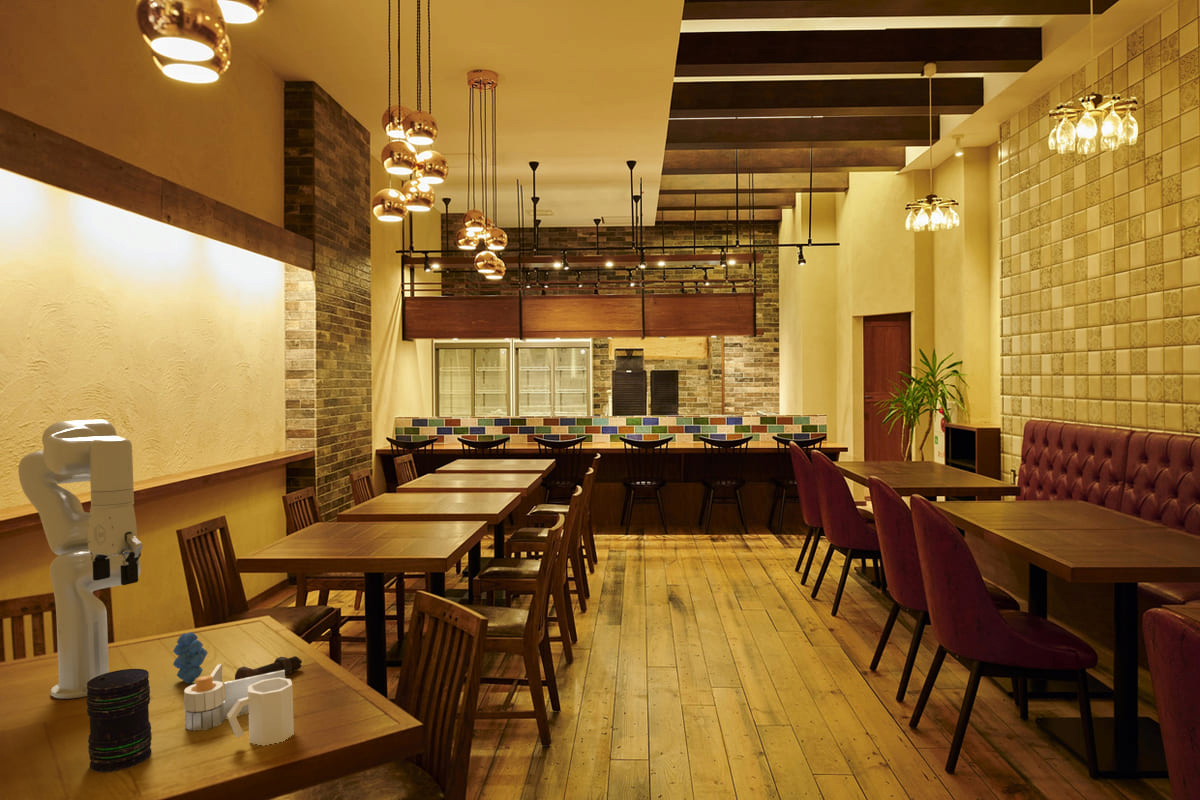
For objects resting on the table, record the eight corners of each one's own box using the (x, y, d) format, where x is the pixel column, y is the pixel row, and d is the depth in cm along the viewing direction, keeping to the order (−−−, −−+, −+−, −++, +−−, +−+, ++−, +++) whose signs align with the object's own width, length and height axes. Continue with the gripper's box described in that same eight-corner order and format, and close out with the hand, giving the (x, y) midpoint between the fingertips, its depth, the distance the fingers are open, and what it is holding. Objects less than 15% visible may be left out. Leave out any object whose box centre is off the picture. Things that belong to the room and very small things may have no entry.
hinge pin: (196, 727, 156) (195, 682, 156) (197, 721, 159) (196, 677, 159) (213, 724, 157) (212, 679, 157) (213, 719, 160) (212, 674, 160)
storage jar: (162, 746, 148) (160, 667, 148) (133, 771, 139) (130, 687, 138) (109, 748, 148) (106, 669, 148) (76, 773, 138) (73, 689, 138)
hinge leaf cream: (219, 726, 156) (218, 691, 155) (181, 731, 154) (180, 695, 154) (237, 694, 172) (236, 662, 172) (203, 697, 171) (202, 665, 171)
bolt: (300, 678, 187) (243, 698, 174) (288, 664, 190) (231, 683, 177) (308, 659, 186) (251, 677, 173) (296, 645, 188) (239, 663, 175)
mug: (283, 722, 157) (281, 674, 157) (302, 735, 151) (301, 684, 151) (220, 743, 149) (219, 692, 149) (239, 757, 143) (237, 704, 143)
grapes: (220, 682, 180) (219, 631, 180) (190, 692, 175) (188, 638, 175) (197, 672, 187) (195, 622, 187) (167, 681, 182) (165, 629, 182)
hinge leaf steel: (183, 721, 159) (182, 686, 159) (281, 699, 170) (280, 665, 169) (187, 733, 153) (186, 696, 153) (289, 709, 164) (288, 675, 164)
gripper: (69, 499, 162) (72, 581, 162) (119, 503, 154) (122, 589, 154) (106, 494, 169) (109, 573, 169) (156, 497, 160) (159, 581, 161)
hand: (115, 581), depth 161 cm, fingers open, 9 cm apart
